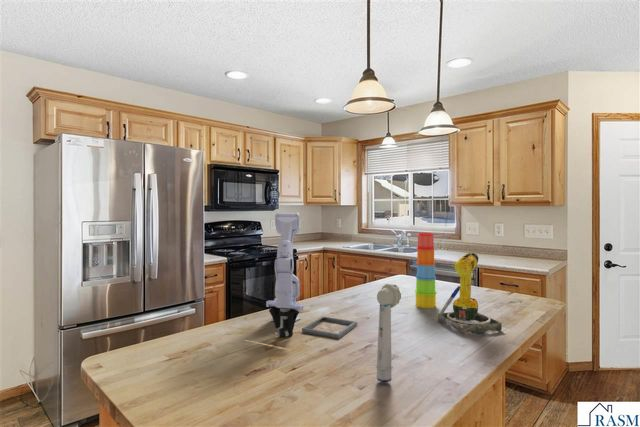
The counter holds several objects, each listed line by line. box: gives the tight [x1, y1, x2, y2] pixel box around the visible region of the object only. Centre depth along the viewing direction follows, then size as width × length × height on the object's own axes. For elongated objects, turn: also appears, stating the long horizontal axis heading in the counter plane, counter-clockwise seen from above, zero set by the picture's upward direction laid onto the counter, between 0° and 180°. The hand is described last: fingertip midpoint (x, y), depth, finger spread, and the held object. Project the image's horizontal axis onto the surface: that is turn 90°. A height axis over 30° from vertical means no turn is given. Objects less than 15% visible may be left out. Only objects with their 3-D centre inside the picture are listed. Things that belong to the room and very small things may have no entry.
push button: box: [274, 308, 294, 338], centre depth 129 cm, size 7×5×10 cm
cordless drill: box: [437, 252, 503, 335], centre depth 140 cm, size 18×19×28 cm
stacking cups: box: [414, 232, 438, 309], centre depth 167 cm, size 10×10×35 cm
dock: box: [301, 316, 358, 340], centre depth 137 cm, size 15×17×2 cm
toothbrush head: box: [375, 283, 402, 383], centre depth 96 cm, size 5×7×25 cm
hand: (284, 328), depth 128 cm, fingers closed on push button, 5 cm apart
